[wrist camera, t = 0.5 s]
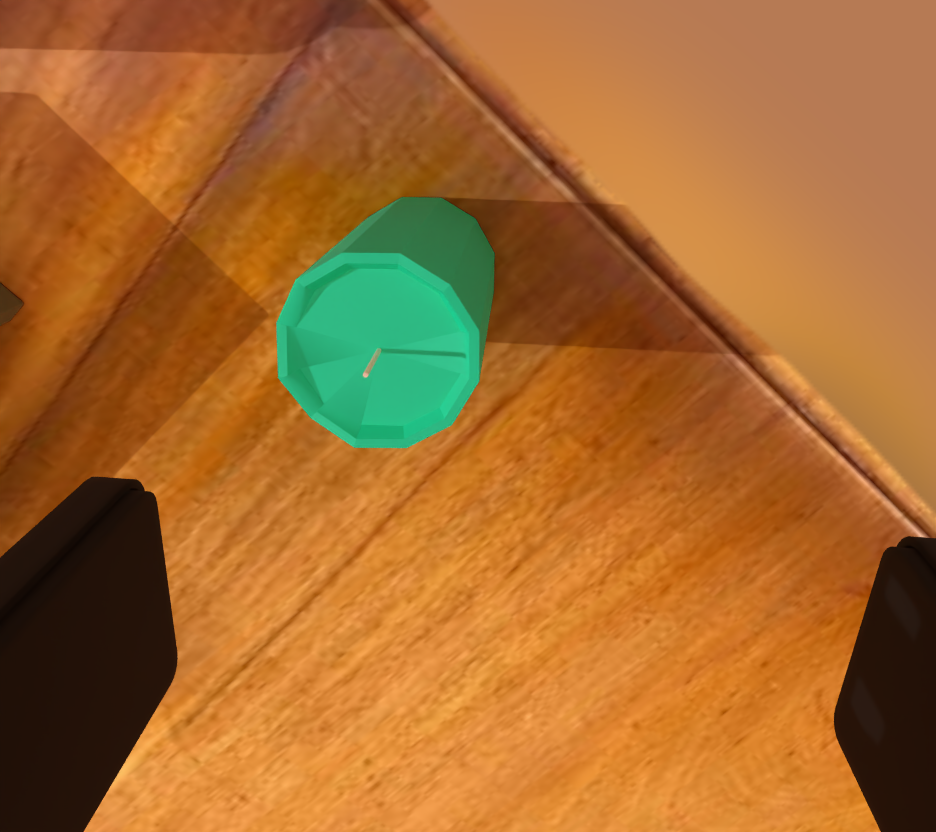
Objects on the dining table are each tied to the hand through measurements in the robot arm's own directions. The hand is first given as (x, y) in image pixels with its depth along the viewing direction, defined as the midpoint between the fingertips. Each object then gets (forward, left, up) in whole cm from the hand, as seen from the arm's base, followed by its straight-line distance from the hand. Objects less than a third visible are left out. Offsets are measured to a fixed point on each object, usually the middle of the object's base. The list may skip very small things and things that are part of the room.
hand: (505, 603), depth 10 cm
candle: (+1, -4, -23) cm, 23 cm away
